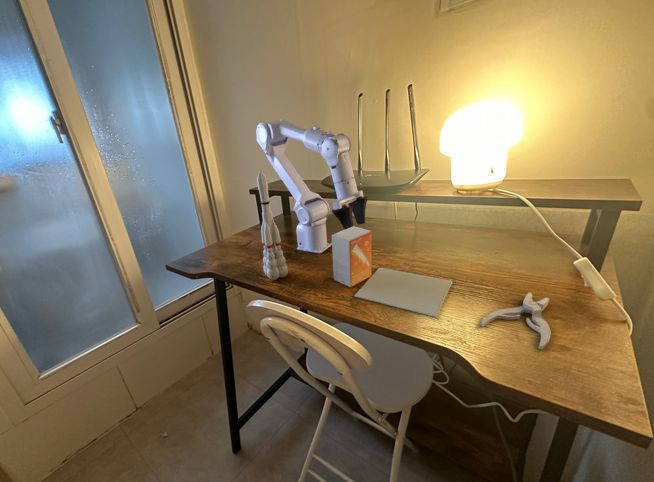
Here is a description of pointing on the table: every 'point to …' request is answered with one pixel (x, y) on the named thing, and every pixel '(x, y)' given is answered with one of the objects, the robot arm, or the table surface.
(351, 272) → the small box
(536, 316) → the pliers
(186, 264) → the table surface
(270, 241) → the rocket model
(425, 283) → the mat
